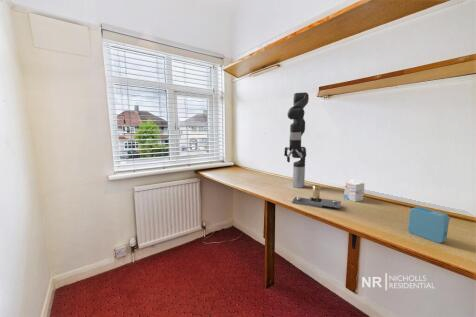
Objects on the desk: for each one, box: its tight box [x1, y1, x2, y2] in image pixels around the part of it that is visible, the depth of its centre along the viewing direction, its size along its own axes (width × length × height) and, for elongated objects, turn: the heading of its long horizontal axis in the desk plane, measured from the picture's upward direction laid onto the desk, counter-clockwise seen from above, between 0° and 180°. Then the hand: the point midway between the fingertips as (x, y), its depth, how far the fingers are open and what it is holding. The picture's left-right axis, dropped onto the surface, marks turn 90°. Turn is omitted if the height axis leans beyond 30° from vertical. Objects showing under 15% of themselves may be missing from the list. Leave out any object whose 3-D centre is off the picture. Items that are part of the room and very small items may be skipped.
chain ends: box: [291, 196, 342, 209], centre depth 131 cm, size 28×9×4 cm, turn 61°
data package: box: [407, 206, 450, 244], centre depth 91 cm, size 12×4×12 cm, turn 30°
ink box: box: [343, 178, 365, 202], centre depth 139 cm, size 9×8×13 cm
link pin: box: [311, 184, 322, 202], centre depth 130 cm, size 5×5×12 cm
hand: (294, 162), depth 140 cm, fingers open, 8 cm apart
